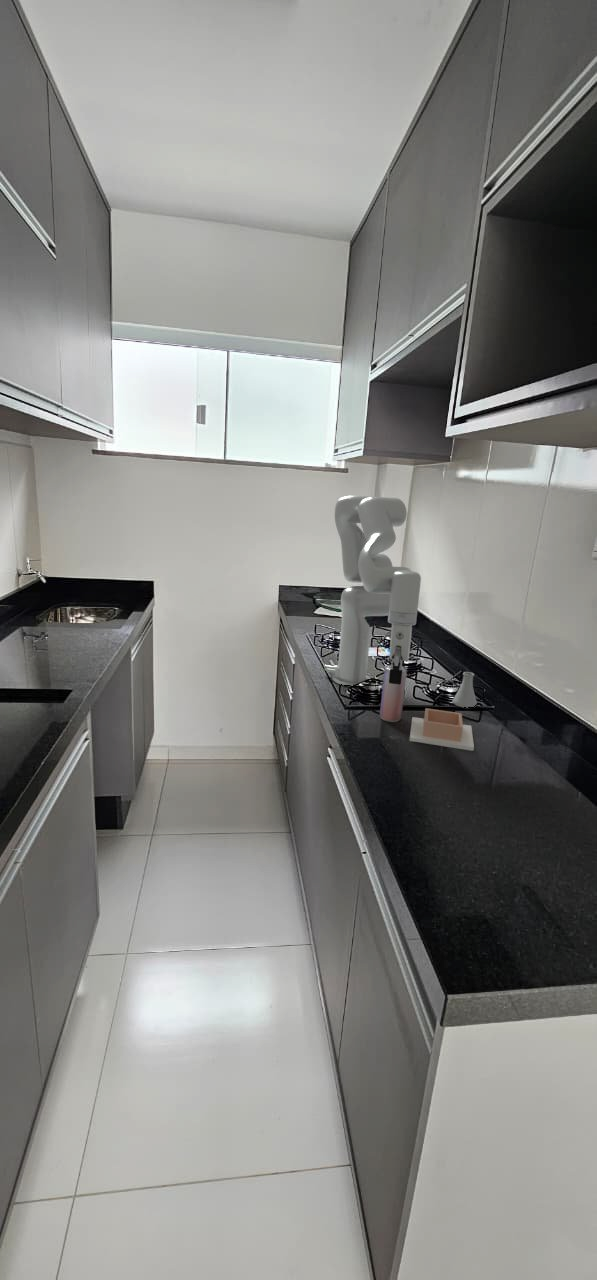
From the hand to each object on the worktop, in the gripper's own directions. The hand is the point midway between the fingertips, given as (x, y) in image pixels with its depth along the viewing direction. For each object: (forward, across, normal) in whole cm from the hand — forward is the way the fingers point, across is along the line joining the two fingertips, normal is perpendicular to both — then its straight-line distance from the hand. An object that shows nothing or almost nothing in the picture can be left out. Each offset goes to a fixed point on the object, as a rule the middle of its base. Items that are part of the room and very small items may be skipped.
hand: (396, 678), depth 159 cm
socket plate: (+12, -5, -14) cm, 19 cm away
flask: (+12, +21, -20) cm, 32 cm away
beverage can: (+12, +1, 0) cm, 12 cm away
